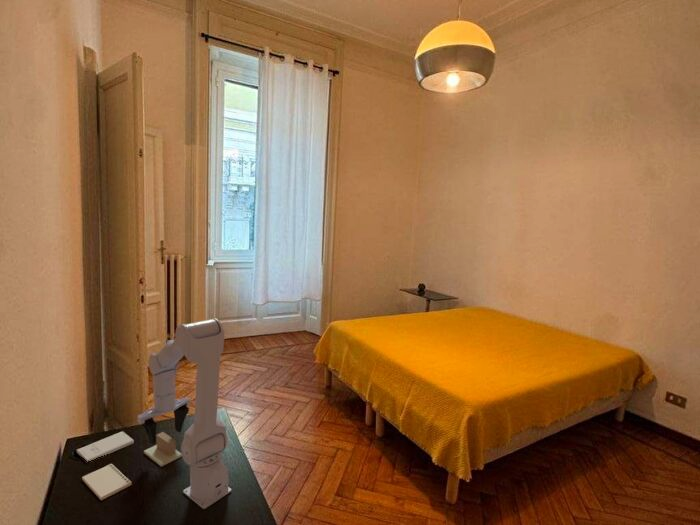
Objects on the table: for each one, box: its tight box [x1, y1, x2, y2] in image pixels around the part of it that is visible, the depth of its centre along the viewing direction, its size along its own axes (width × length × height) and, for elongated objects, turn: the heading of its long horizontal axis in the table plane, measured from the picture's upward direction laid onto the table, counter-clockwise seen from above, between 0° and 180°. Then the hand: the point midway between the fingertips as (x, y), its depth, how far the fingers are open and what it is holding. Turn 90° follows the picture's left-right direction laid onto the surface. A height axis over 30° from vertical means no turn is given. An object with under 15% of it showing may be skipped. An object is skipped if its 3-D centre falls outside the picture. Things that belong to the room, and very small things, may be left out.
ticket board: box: [81, 463, 132, 501], centre depth 98 cm, size 12×7×1 cm, turn 54°
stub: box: [143, 431, 182, 467], centre depth 109 cm, size 10×6×5 cm, turn 54°
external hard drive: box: [76, 430, 135, 463], centre depth 113 cm, size 2×8×12 cm
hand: (165, 436), depth 110 cm, fingers open, 7 cm apart
